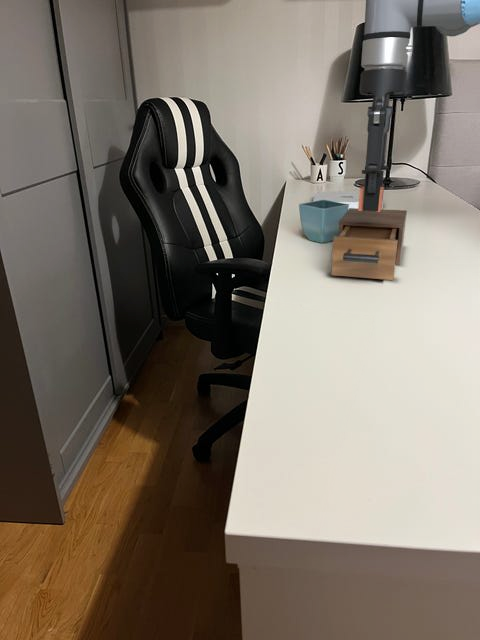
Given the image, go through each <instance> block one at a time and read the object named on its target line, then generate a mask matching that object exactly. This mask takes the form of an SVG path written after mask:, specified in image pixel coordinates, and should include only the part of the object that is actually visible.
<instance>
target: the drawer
mask: <svg viewBox="0 0 480 640" xmlns="http://www.w3.org/2000/svg"><path fill="white" fill-rule="evenodd" d="M396 234H397V228H389V227H369V226H350V225H346V227H345V228H344V230H343V231H342V233H341V234H340V236H334V238H333V241H332V257H331V276H337V277H338V276H339V277H348V278H349V277H350V278H362V279H373V280H374V279H375V280H385V281H387V280H388V281H394V279H395V269H396V265H395V261H396V251H397V242H398V240H396Z"/></svg>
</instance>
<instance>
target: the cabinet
mask: <svg viewBox="0 0 480 640" xmlns="http://www.w3.org/2000/svg"><path fill="white" fill-rule="evenodd" d="M407 213H408V210H405V209H403V210H402V209H381V211H380V212H369V211H358V208H349V209H348V211H347V212H346V213H345V214H344V216H343V217H342V218H341V220H340V221H339V234H338V236H340V234H341V233H342V231H343V230H344V228H345V227H346V225H350V226H369V227H389V228H397V234H396V240H398V242H397V251H396V261H395V266H400V264H401V259H402V254H403V247H404V242H405V231H406V223H407V222H406V221H407Z"/></svg>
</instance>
